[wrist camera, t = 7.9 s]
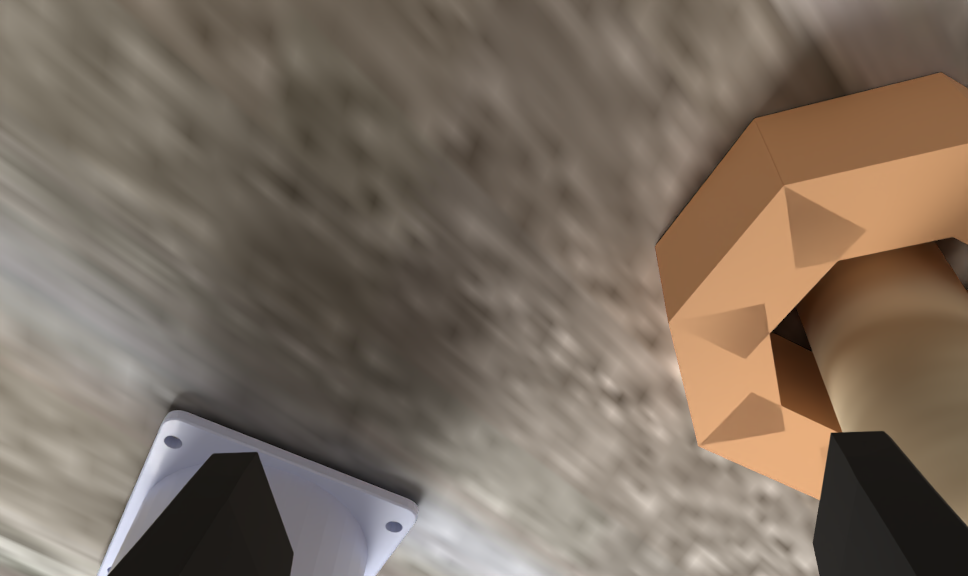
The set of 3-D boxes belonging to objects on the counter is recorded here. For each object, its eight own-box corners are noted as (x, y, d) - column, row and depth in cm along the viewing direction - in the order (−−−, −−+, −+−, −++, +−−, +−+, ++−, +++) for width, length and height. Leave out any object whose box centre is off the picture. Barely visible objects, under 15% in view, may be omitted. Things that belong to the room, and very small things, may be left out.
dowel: (868, 344, 23) (996, 625, 16) (759, 292, 22) (848, 564, 15) (968, 248, 21) (1158, 522, 14) (853, 187, 20) (998, 446, 14)
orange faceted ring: (876, 453, 25) (911, 540, 22) (595, 322, 23) (600, 402, 20) (1163, 206, 20) (1250, 283, 17) (838, 9, 18) (884, 66, 15)
